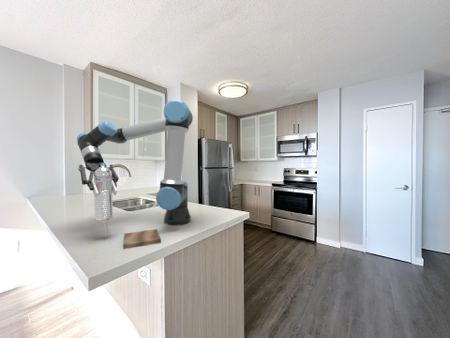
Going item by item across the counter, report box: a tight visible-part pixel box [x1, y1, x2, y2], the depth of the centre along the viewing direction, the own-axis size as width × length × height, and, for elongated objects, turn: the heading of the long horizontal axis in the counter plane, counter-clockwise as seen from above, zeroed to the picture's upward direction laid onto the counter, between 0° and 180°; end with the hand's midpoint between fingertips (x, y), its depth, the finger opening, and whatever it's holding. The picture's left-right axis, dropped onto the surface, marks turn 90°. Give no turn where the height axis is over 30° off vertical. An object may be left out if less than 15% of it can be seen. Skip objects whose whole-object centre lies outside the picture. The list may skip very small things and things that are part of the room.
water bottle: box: [93, 162, 114, 222], centre depth 85 cm, size 7×7×25 cm
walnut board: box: [122, 228, 162, 250], centre depth 84 cm, size 14×14×2 cm
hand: (106, 194), depth 83 cm, fingers closed on water bottle, 7 cm apart
